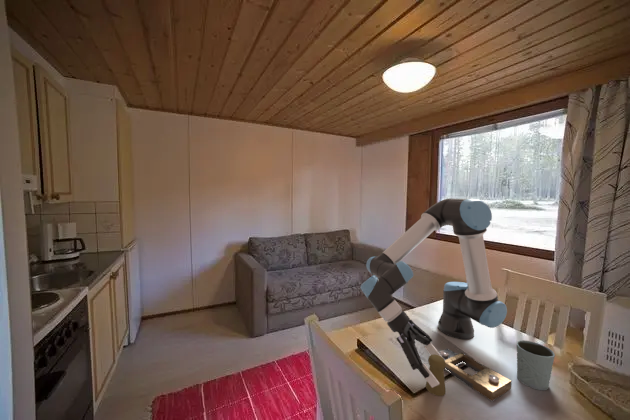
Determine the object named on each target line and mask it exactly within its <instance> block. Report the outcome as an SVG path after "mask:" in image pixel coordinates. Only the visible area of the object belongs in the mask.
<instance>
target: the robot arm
mask: <svg viewBox="0 0 630 420" xmlns="http://www.w3.org/2000/svg"><path fill="white" fill-rule="evenodd" d="M492 214H493V213H492V210H491V208H490V207H489V205H488V204H487V203H486V202H485V201H483V200H480V199H475V198H446V199H445V198H444V199H442V200H439V201H437V202H436V203H435V204H433V205H431V206H430V207H428V209H426V210H425V211H424V212H422V213H421V216H420V218H419V220H417V221H416V222H415V223H414V224H413V225H411V227H409V228H408V229H407V230H406V231H405V232H404V233H403V234H401V235H400V236H399V238H397V239H396V240H394V242H393V243H392V244H391V245H389V246H388V247H387V248H386V249H385V250H384V251H382V252H381V253H380V254H379V255H378V256H370V257H369V258H368V259H367V261H366V264H365V266H366V270H367V271H368V272H369V273H370V274H371V275H372V276H370V277H369V278H367V279H366V280H365V281H363V283H361V284H360V290H361V291H362V293H363V294H364V296H365V298H366V299H367V300H368V301H369V302H370V303H371V305H372V306H373V308H374V309H375V310H376V312H377V313H378V315H379V317H381V318H382V320H383V321H384V322H386V325H387V326H388V327H389V329H390V330H391V331H392V332H393V333H398V335H399V336H397V337H396V341H397V342H398V344H399V345H400V347H401V349H402V351H403V353H404V355H405V357H406V358H407V361H408V363H409V365H410V367H411V369H412V370H413V371H415V370H418V371H419V372H420V374H421V375H422V377H423V378H424V379H425V381H426V382H428V383H429V384H430V386H431V387H432V388H433V387H435V386H437V385H439V382H438V380H437V379H436V378H435V376H434V375H433V374H432V372H431V371H430V370H429V367H428V366H427V365H426V364H425V363H424V362H422V359H421V357H420V354H419V352H418V349H417V347H416V341H418V343H421V344H423V345H424V348H425V349H426V351H427V352H428V354H429V356H430V355H433V354H435V355H439V356H441V355H440V353H439V352H440V351H439V350H438V349H437V348H436V347H435V346H434V345H433V343H432V342H433V339H432V338H431V336H430V335H429V334H428V333H426V332H425V331H424V330H423V329H422V328H421V327H419V326H418V325H417V324H416V323H415V322H414V321H413V320H412V319H410V317H409V316H408V314H407V313H406V312H405V311H404V310H402V309H403V308H402V306H401V305H400V304H399V303H398V301H396V299H395V298H394V297H393V295H394V293H396V292H397V291H399V290H400V289H401V288H402V287H403V286H404V285H406V284H408V282H409V281H410V280H411V279H413V277H414V271H413V269H412V268H411V266H409V264H408V263H406V262H405V261H403V259H405V257H407V256H408V255H409V254H410V253H411V252H412V251H413V250H414V249H415V248H417V247H418V246H419V245H420V244H421V243H422V242H423V241H425V240H426V239H427V238H428V237H429V236H430V235H431V234H432V233H433V232H434V231H439V230H441V228H442V227H446V226H451V227H452V229H453V230H452V231H453V234H454V235H455V236H457V237H458V240H459V247H460V251H461V258H462V263H463V268H464V269H463V270H464V273H465V279H466V282H464V281H463V282H462V281H448V282H446V283H444V286H443V294H442V295H443V298H442V313H441V315H440V317H439V320H438V325H437V326H438V327H437V328H438V330H439V331H441V333H443V334H445V335H446V336H449V337H452V338H455V339H462V340H464V339H465V340H469V339H471V338H473V337H474V335H475V328H474V325H473V322H472V320H473V321H475V322H477V323H479V324H480V325H481V326H484V327H488V328H490V329H491V328H492V329H494V328H497V327H499V326H501V324H503V322H504V320H505V319H506V317H507V314H508V309H507V308H508V307H507V305H506V304H505V303H504V302H503V301H500V300H499V296H498V293H497V291H496V289H494V288H493V287H492V281H491V275H490V271H489V269H490V268H489V264H488V258H487V252H486V244H485V239H484V234H486V232H487V228H488V227H489V226H491V221H492V219H493V215H492ZM441 357H442V356H441ZM442 358H443V357H442ZM443 359H444V358H443Z"/></svg>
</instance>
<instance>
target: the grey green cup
mask: <svg viewBox="0 0 630 420" xmlns="http://www.w3.org/2000/svg"><path fill="white" fill-rule="evenodd" d="M555 357H556V355H555V352H554V351H553V350H552V349H551V348H550V347H547V346H545V345H543V344H541V343H538V342H534V341H530V340H518V341H516V359H517V360H516V376H517V379H518V381H519V382H520V383H522V384H523V385H525V386H526V387H528V388H531V389H535V390H537V391H547V390H548V389H549V387H550V380H551V377H552V371H553V365H554V362H555V361H554V360H555Z"/></svg>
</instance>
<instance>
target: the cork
mask: <svg viewBox="0 0 630 420" xmlns="http://www.w3.org/2000/svg"><path fill="white" fill-rule="evenodd" d="M427 359H428V361H427V362H428V365H429V367H428V369H429V370H430V371H431V372H432V374H433V375H434V376H435V378H436V379H437V380H438V382H439V385H437V386H435V387H433V388H432V387H431V386H430V384H429V383H428V382H427V381H426V382H425V383H426V384H425V388H426V390H427V392H429V393H430V394H431V395H434V396H437V397H443V396H445V395H446V392H447V391H446V381H445V380H446V379H445V372H444V371H445V370H444V369H445V366H446V363H445V360H444V359H443V358H442V357H441V356H439V355H435V354H433V355H430V354H429V356H428V358H427Z"/></svg>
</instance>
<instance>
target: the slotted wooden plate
mask: <svg viewBox="0 0 630 420" xmlns="http://www.w3.org/2000/svg"><path fill="white" fill-rule="evenodd" d="M438 352H439V353H440V355H441V356H442V357H443V358H444V360H445V363H446V366H445V368H446V369H447V370H449V371H450V372H451V376H453V377H454V378H456V379H458V380H460V382H461V383H464V384H465V385H467V386H468V387H469V388H471V389H473V390H474V391H476V392H477V393H479V395H482V396H483V397H485V398H486V399H488V400H489V401H490V402H493V401H495V400H496V399H497V398H498V399H499V398H500V397H501V396H502V395H505V394H506V393H507V392H509V391H511V390H512V380H511V379H509V378H507V376H504V375H502V374H500V373H498V372H496V371H495V370H493V369H492V368H489V367H488V366H486V365H484V364H482V363H481V362H479V361H478V360H475V359H473V358H472V357H470V356H468V355H466V354H465V353H463V352H461V353H459V354H458V353H456V352H454V351H453V350H451V349H449V348H446V349H443V350H441V351H438ZM462 361H463V362H465V363H466V365H465V366H466V367H468V368H469V369H471V370H472V371H474V372H475V373H474V374H470V373H469V372H466V371H465V370H463V369H462V368H460V367H459V366H455V365H456V364H458V363H460V362H462Z"/></svg>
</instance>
